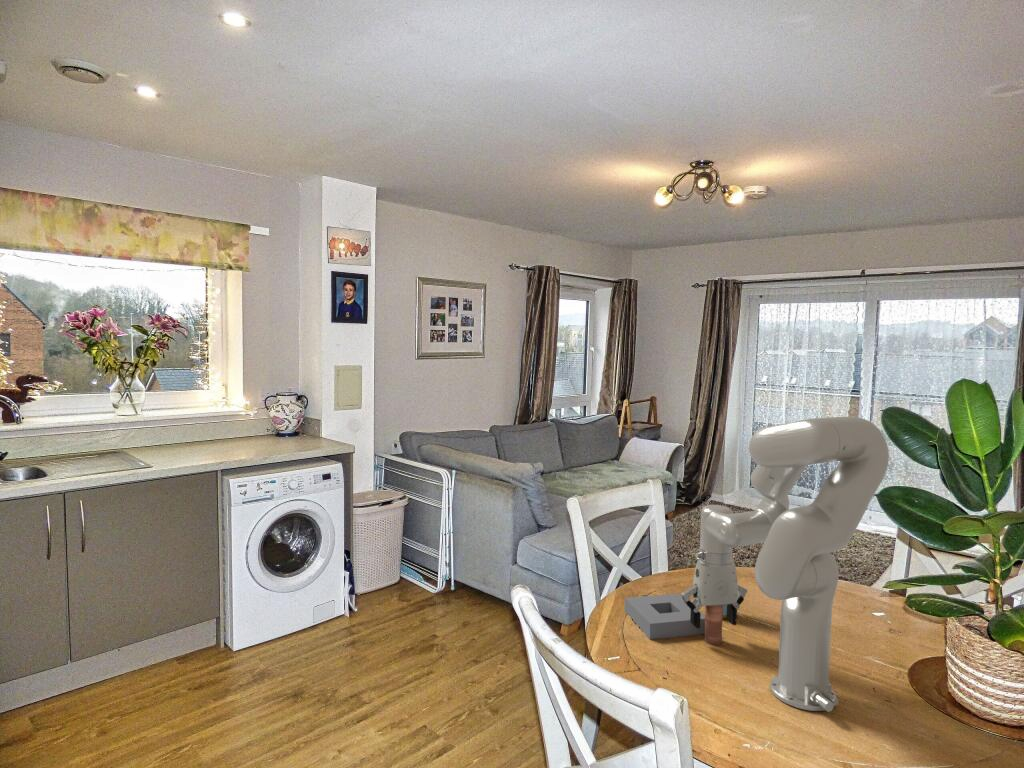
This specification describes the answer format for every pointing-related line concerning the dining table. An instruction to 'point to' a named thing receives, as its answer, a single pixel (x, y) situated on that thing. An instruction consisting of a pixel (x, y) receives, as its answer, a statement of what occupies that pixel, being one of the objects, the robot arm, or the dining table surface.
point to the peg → (713, 624)
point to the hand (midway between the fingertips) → (713, 624)
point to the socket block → (663, 616)
